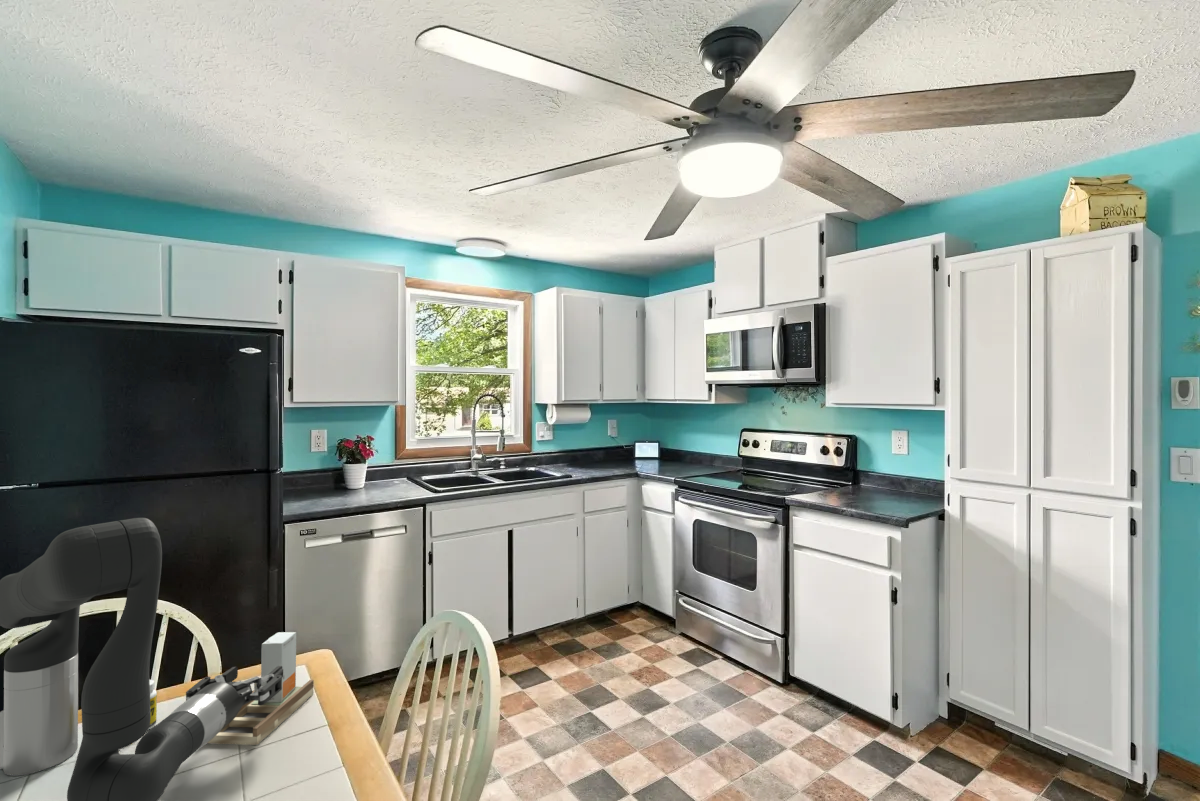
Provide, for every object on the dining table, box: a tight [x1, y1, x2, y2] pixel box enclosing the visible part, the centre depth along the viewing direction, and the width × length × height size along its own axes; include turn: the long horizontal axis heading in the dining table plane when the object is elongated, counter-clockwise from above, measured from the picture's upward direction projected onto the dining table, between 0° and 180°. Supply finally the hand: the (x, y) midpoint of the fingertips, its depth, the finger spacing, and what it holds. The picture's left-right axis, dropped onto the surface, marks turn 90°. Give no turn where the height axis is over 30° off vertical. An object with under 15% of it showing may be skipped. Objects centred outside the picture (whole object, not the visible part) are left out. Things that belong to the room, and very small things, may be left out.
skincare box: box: [260, 631, 297, 703], centre depth 116 cm, size 6×4×12 cm
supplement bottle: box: [147, 679, 158, 731], centre depth 108 cm, size 5×5×8 cm
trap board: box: [207, 679, 314, 746], centre depth 111 cm, size 10×18×3 cm, turn 177°
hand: (258, 671), depth 109 cm, fingers open, 8 cm apart
